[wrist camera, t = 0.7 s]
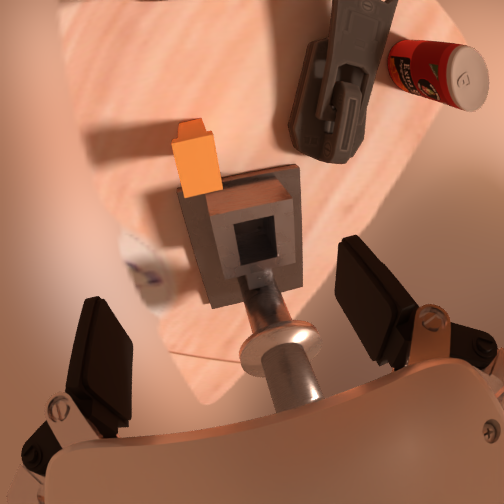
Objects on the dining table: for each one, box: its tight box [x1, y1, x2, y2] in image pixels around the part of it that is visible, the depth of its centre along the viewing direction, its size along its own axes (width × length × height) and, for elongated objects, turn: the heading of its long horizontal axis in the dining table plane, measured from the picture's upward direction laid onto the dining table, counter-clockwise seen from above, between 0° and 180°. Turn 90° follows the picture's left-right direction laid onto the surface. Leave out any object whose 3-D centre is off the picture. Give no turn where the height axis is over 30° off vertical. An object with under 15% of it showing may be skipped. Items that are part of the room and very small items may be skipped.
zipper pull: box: [288, 0, 398, 164], centre depth 23 cm, size 9×7×25 cm
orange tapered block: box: [171, 118, 223, 198], centre depth 24 cm, size 4×3×10 cm
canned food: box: [388, 40, 489, 112], centre depth 22 cm, size 8×8×11 cm
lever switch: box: [177, 164, 325, 413], centre depth 29 cm, size 19×14×21 cm
